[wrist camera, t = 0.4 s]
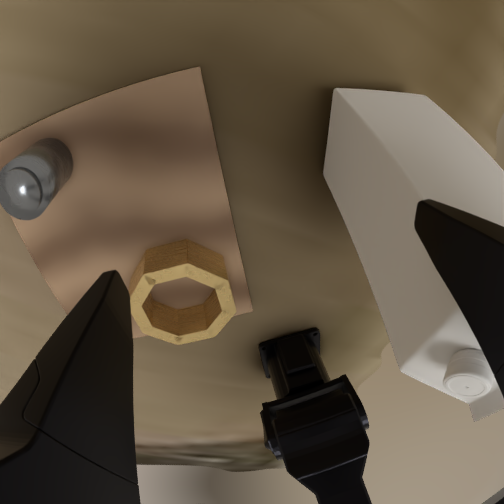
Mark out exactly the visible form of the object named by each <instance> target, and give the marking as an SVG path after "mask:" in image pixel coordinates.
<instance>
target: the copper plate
mask: <svg viewBox="0 0 504 504" xmlns="http://www.w3.org/2000/svg"><path fill="white" fill-rule="evenodd" d="M44 138H55V139H58V140H60V141H62V142H63V143H64V144H65V145H66V146H67V147H68V148H69V150H70V152H71V154H72V158H73V171H72V174H71V176H70V178H69V180H68V181H67V182H66V183H65V185H64V186H63V187H62V188H61V190H60V191H59V192H58V193H57V195H56V196H55V197H54V199H53V200H52V201H51V203H50V204H49V205H48V207H47V208H46V209H45V211H44V212H43V213H42V214H41V215H40V216H39V217H37V218H35V219H32V220H20V219H17V218H15V217H13V216H11V215H10V216H11V218H12V220H13V222H14V224H15V226H16V228H17V230H18V232H19V234H20V236H21V238H22V240H23V242H24V244H25V246H26V247H27V249H28V251H29V253H30V255H31V257H32V258H33V260H34V262H35V264H36V265H37V267H38V269H39V271H40V272H41V274H42V276H43V277H44V279H45V281H46V282H47V284H48V285H49V287H50V289H51V290H52V292H53V293H54V295H55V297H56V298H57V300H58V301H59V303H60V304H61V306H62V307H63V309H64V310H65V312H66V313H67V315H68V314H69V313H70V311H71V310H72V309H73V308H74V306H75V305H76V304H77V303H78V301H79V300H80V299H81V298H82V297H83V295H84V294H85V293H86V292H87V291H88V289H89V288H90V287H91V286H92V285H93V283H94V282H95V281H96V280H97V279H98V278H99V276H100V275H101V274H102V273H103V272H106V271H110V270H117V271H118V272H119V274H120V275H121V277H122V279H123V281H124V283H125V285H126V287H127V289H128V291H129V285H130V279H131V277H132V275H133V273H134V271H135V269H136V267H137V266H138V264H139V262H140V260H141V258H142V256H143V255H144V253H145V251H146V249H149V248H153V247H156V246H160V245H164V244H168V243H172V242H176V241H180V240H183V239H189V240H191V241H193V242H195V243H197V244H199V245H201V246H204V247H206V248H208V249H210V250H212V251H214V252H216V253H218V254H221V255H222V256H223V259H224V262H225V266H226V270H227V274H228V277H229V281H230V285H231V289H232V293H233V298H234V302H235V306H236V313H235V314H234V315H233V316H236V315H240V314H244V313H248V312H252V311H253V308H252V304H251V299H250V295H249V291H248V286H247V282H246V277H245V273H244V269H243V264H242V260H241V255H240V251H239V246H238V242H237V237H236V233H235V228H234V224H233V219H232V215H231V210H230V206H229V201H228V197H227V192H226V188H225V183H224V178H223V174H222V169H221V164H220V160H219V155H218V151H217V146H216V141H215V137H214V132H213V127H212V122H211V118H210V113H209V108H208V103H207V99H206V94H205V89H204V84H203V80H202V75H201V70H200V67H194V68H190V69H186V70H182V71H178V72H174V73H170V74H166V75H162V76H159V77H155V78H152V79H148V80H145V81H142V82H138V83H135V84H132V85H129V86H126V87H123V88H120V89H117V90H114V91H111V92H108V93H105V94H103V95H100V96H97V97H94V98H92V99H89V100H87V101H84V102H82V103H79V104H77V105H74V106H72V107H69V108H67V109H65V110H62V111H60V112H58V113H56V114H53V115H51V116H49V117H47V118H45V119H43V120H41V121H38V122H36V123H34V124H32V125H30V126H28V127H26V128H24V129H22V130H20V131H19V132H17V133H15V134H13V135H11V136H9V137H7V138H5V139H4V140H2V141H0V171H1V169H2V168H3V167H4V166H5V165H6V164H7V163H9V162H10V161H11V160H12V159H14V158H15V157H16V156H18V155H19V154H21V153H22V152H23V151H25V150H26V149H28V148H29V147H30V146H32V145H33V144H35V143H36V142H38V141H39V140H41V139H44ZM214 289H215V288H212V287H210V286H207V285H205V284H202V283H200V282H198V281H195V280H193V279H191V278H188V277H183V278H179V279H175V280H171V281H167V282H163V283H159V284H154V286H153V288H152V289H151V291H150V293H151V295H152V298H153V300H154V301H157V302H160V303H162V304H165V305H167V306H170V307H173V308H175V309H182V308H186V307H191V306H195V305H199V304H203V303H204V302H205V301H206V299H207V298H208V297H209V296H210V294H211V293H212V292H213V290H214ZM131 320H132V333H133V338H138V337H143V336H148V335H147V334H144V333H142V331H141V330H140V328H139V326H138V324H137V323H136V321H135V319H134V317H133V316H132V314H131Z"/></svg>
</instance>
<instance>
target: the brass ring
mask: <svg viewBox="0 0 504 504" xmlns="http://www.w3.org/2000/svg"><path fill="white" fill-rule="evenodd" d="M183 277H188V278H191V279H193V280H195V281H198V282H200V283H202V284H205V285H207V286H210V287H212V288H215V289H214V290H213V292H212V293H211V294H210V296H209V297H208V298H207V299H206V301H205V302H204V303H203V304H199V305H195V306H191V307H186V308H182V309H175V308H173V307H170V306H167V305H165V304H162V303H160V302H157V301H154V300H153V298H152V295H151V293H150V291H151V289H152V288H153V286H154V284H159V283H163V282H167V281H171V280H175V279H179V278H183ZM129 294H130V304H131V314H132V316H133V317H134V319H135V321H136V323H137V324H138V326H139V328H140V330H141V331H142V333H144V334H147V335H149V336H152V337H155V338H158V339H161V340H164V341H167V342H170V343H173V344H176V345H180V344H185V343H190V342H194V341H199V340H203V339H208V338H212V337H215V336H216V335H217V334H218V333H219V332H220V331H221V329H222V328H223V327H224V326H225V325H226V324H227V322H228V321H229V320H230V319H231V318H232V317H233V315H234V314H235V313H236V306H235V302H234V298H233V293H232V289H231V285H230V281H229V277H228V274H227V270H226V266H225V262H224V259H223V256H222V255H221V254H218V253H216V252H214V251H212V250H210V249H208V248H206V247H204V246H201V245H199V244H197V243H195V242H193V241H191V240H189V239H183V240H180V241H176V242H172V243H168V244H164V245H160V246H156V247H153V248H149V249H146V251H145V253H144V255H143V256H142V258H141V260H140V262H139V264H138V266H137V267H136V269H135V271H134V273H133V275H132V277H131V279H130V285H129Z"/></svg>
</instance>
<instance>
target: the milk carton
mask: <svg viewBox="0 0 504 504" xmlns="http://www.w3.org/2000/svg"><path fill="white" fill-rule="evenodd" d="M323 176H324V178H325V180H326V182H327V184H328V187H329V189H330V191H331V193H332V195H333V197H334V200H335V202H336V204H337V206H338V208H339V211H340V213H341V215H342V217H343V220H344V222H345V224H346V227H347V229H348V231H349V234H350V236H351V238H352V241H353V243H354V246H355V248H356V250H357V253H358V255H359V258H360V260H361V263H362V265H363V268H364V270H365V273H366V276H367V278H368V281H369V283H370V286H371V289H372V291H373V294H374V297H375V299H376V302H377V305H378V308H379V310H380V313H381V316H382V319H383V322H384V325H385V327H386V330H387V333H388V336H389V339H390V342H391V345H392V348H393V351H394V354H395V357H396V360H397V363H398V366H399V369H400V371H401V372H402V373H404V374H406V375H408V376H410V377H412V378H414V379H416V380H418V381H420V382H423V383H425V384H427V385H429V386H431V387H433V388H435V389H437V390H440V391H442V392H444V393H446V394H448V395H450V396H453V397H455V398H457V399H459V400H461V401H463V402H466V403H468V404H469V406H470V410H471V413H472V417H473V420H474V422H475V421H478V420H480V419H482V418H484V417H486V416H489V415H491V414H493V413H496V412H498V411H500V410H502V409H504V398H503V396H502V393H501V391H500V388H499V386H498V384H497V382H496V379H495V377H494V374H493V372H492V370H491V368H490V366H489V364H488V362H487V360H486V357H485V355H484V353H483V351H482V349H481V347H480V345H479V343H478V341H477V339H476V338H475V336H474V334H473V332H472V330H471V328H470V326H469V324H468V323H467V321H466V319H465V317H464V315H463V313H462V312H461V310H460V308H459V306H458V305H457V303H456V301H455V299H454V298H453V296H452V294H451V293H450V291H449V289H448V288H447V286H446V284H445V283H444V281H443V280H442V278H441V276H440V275H439V273H438V271H437V270H436V268H435V266H434V264H433V262H432V261H431V259H430V257H429V255H428V253H427V251H426V249H425V247H424V245H423V244H422V242H421V240H420V238H419V236H418V234H417V233H416V231H415V227H414V220H415V214H416V208H417V204H418V202H419V201H421V200H425V199H432V200H435V201H438V202H441V203H443V204H446V205H449V206H452V207H455V208H457V209H460V210H463V211H465V212H468V213H471V214H473V215H476V216H478V217H481V218H484V219H486V220H489V221H491V222H493V223H496V224H498V225H501V226H503V227H504V171H503V170H502V169H501V167H500V166H499V165H498V164H497V163H496V162H495V161H494V160H493V159H492V157H491V156H490V155H489V154H488V153H487V152H486V151H485V150H484V149H483V148H482V147H481V146H480V145H479V144H478V143H477V142H476V141H475V140H474V139H473V138H472V137H471V136H470V135H469V134H468V133H467V132H466V131H465V130H464V129H463V128H462V127H461V126H460V125H459V124H458V123H457V122H456V121H454V120H453V119H452V118H451V117H450V116H449V115H448V114H447V113H446V112H444V111H443V110H442V109H441V108H440V107H439V106H437V105H436V104H435V103H434V102H433V101H432V100H430V99H429V98H428V97H427V96H425V95H419V94H411V93H402V92H393V91H381V90H368V89H350V88H335V89H334V90H333V97H332V106H331V114H330V123H329V131H328V139H327V147H326V155H325V162H324V170H323Z"/></svg>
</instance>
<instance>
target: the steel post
mask: <svg viewBox="0 0 504 504" xmlns="http://www.w3.org/2000/svg"><path fill="white" fill-rule="evenodd" d="M72 171H73V158H72V154H71V152H70V150H69V148H68V147H67V146H66V145H65V144H64V143H63V142H62V141H60V140H58V139H55V138H44V139H41V140H39V141H38V142H36V143H35V144H33V145H32V146H30V147H29V148H28V149H26V150H25V151H23V152H22V153H21V154H19V155H18V156H16V157H15V158H14V159H12V160H11V161H10V162H9V163H7V164H6V165H5V166H4V167H3V168H2V169H1V171H0V203H1V205H2V207H3V208H4V209H5V211H6V212H7V213H9V214H10V215H11V216H13V217H15V218H17V219H20V220H32V219H35V218H37V217H39V216H40V215H41V214H42V213H43V212H44V211H45V209H46V208H47V207H48V205H49V204H50V203H51V201H52V200H53V199H54V197H55V196H56V195H57V193H58V192H59V191H60V190H61V188H62V187H63V186H64V185H65V183H66V182H67V181H68V180H69V178H70V176H71V174H72Z"/></svg>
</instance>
